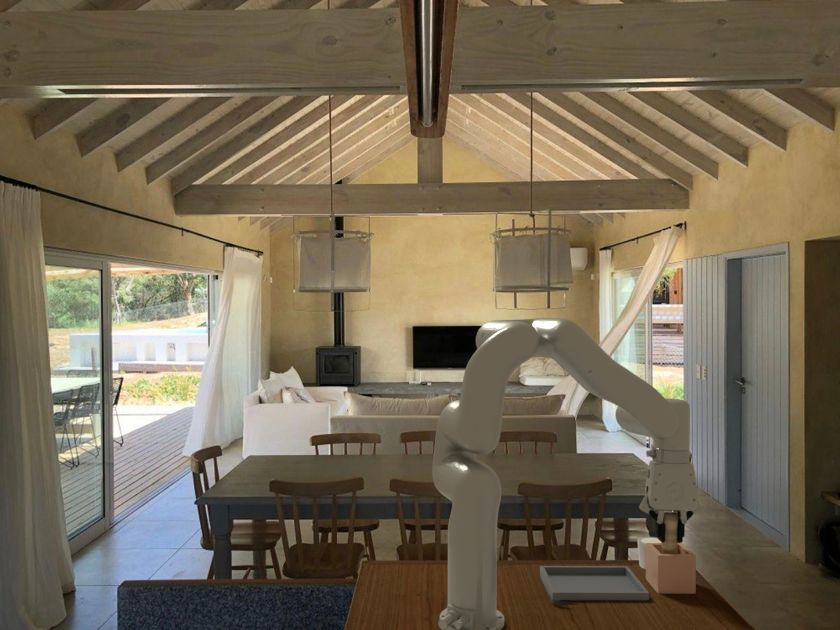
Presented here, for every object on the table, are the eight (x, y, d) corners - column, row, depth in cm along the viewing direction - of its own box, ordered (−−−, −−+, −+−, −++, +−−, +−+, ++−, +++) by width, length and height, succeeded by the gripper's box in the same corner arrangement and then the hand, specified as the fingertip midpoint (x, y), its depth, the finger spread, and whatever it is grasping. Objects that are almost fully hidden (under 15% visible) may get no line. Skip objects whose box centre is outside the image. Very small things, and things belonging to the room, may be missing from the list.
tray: (552, 604, 146) (552, 592, 146) (540, 576, 161) (540, 565, 161) (649, 604, 146) (649, 592, 146) (627, 577, 161) (627, 566, 161)
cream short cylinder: (669, 577, 161) (670, 546, 161) (638, 574, 162) (638, 544, 162) (665, 566, 167) (665, 537, 167) (635, 564, 169) (635, 535, 169)
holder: (657, 597, 149) (658, 555, 149) (645, 583, 157) (645, 542, 157) (695, 597, 149) (695, 555, 149) (681, 583, 157) (681, 543, 157)
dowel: (675, 585, 151) (676, 516, 151) (659, 582, 153) (660, 513, 152) (678, 581, 154) (679, 512, 153) (663, 577, 155) (664, 510, 155)
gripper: (638, 459, 149) (637, 545, 149) (715, 460, 149) (714, 546, 149) (627, 452, 157) (626, 534, 157) (701, 452, 157) (700, 535, 157)
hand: (669, 539), depth 153 cm, fingers closed on dowel, 3 cm apart
